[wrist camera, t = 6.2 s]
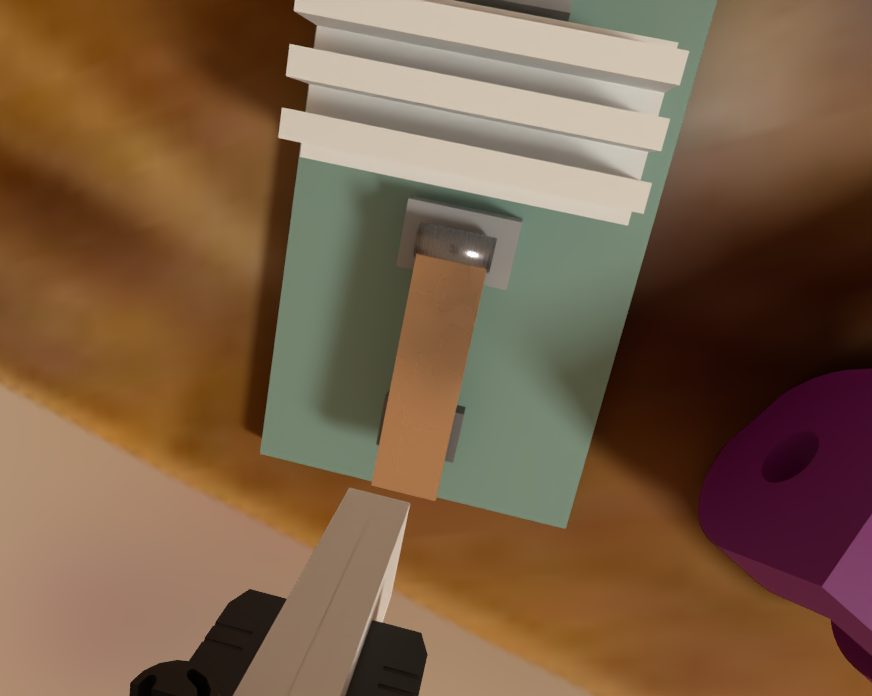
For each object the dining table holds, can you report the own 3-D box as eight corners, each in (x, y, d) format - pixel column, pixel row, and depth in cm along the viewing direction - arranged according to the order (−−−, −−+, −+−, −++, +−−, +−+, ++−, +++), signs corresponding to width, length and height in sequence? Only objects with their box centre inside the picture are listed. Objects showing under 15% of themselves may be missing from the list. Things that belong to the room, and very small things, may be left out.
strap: (423, 221, 23) (418, 222, 22) (497, 237, 23) (496, 238, 22) (374, 473, 26) (367, 487, 24) (441, 490, 25) (437, 504, 24)
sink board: (388, -430, 21) (312, -743, 14) (815, -371, 20) (977, -674, 13) (270, 442, 30) (185, 534, 22) (564, 514, 29) (575, 634, 21)
